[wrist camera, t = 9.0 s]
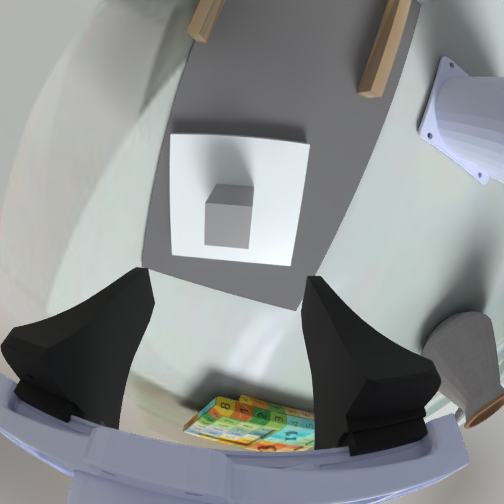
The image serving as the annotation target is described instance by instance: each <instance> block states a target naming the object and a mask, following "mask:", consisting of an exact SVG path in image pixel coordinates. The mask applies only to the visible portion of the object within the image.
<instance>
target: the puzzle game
mask: <svg viewBox="0 0 504 504" xmlns="http://www.w3.org/2000/svg"><path fill="white" fill-rule="evenodd" d="M183 431H184V432H186V433H189V434H192V435H196V436H199V437H202V438H206V439H209V440H213V441H216V442H220V443H224V444H228V445H232V446H236V447H241V448H245V449H250V450H255V451H260V452H291V451H304V450H307V449H309V448H311V447H313V446H314V441H315V425H314V413H312V412H307V411H302V410H298V409H294V408H289V407H285V406H281V405H277V404H274V403H270V402H266V401H263V400H259V399H256V398H252V397H249V396H246V395H241V396H239V397H238V398H237V399H236V400H232V399H229V398H226V397H223V396H219V397H215V398H214V399H213V400H212V401H211V402H210V403H209V404H208V405H207V406H206V407H205V408H203V409H202V410H201V411H200V412H199V413H198V414H197V415H196V416H194V417H193V418H192V419H191V420H190V421H189V422H188V423H186V424H185V425H184V429H183Z"/></svg>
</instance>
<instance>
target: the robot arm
mask: <svg viewBox="0 0 504 504" xmlns="http://www.w3.org/2000/svg"><path fill="white" fill-rule="evenodd" d="M450 64H451V67H450ZM418 133H419V136H420V137H421V138H423V139H424V140H426V141H427V142H429V143H430V144H432V145H433V146H434V147H436V148H437V149H439V150H440V151H441V152H443V153H444V154H445V155H447V156H448V157H450V158H451V159H452V160H453V161H455V162H456V163H457V164H459V165H460V166H461V167H462V168H464V169H465V170H466V171H467V172H469V173H470V174H471V175H472V176H473V177H474V178H476V179H477V180H478V181H479V182H480V183H481V184H483V185H486V184H487V182H488V180H489V178H490V177H491V178H493V179H495V180H497V181H499V182H501V183H503V184H504V77H470V76H469V75H468V74H467V73H466V72H465V71H464V70H463V69H461V68H460V67H459V66H458V65H457V64H456V63H454V62H453V61H452V60H451V59H450V58H448V57H447V56H443V57H441V60H440V64H439V67H438V71H437V75H436V78H435V81H434V85H433V88H432V91H431V94H430V98H429V101H428V104H427V107H426V110H425V113H424V115H423V118H422V121H421V124H420V127H419V130H418ZM428 133H430V137H429V138H428V136H427V135H428ZM478 174H479V176H478ZM154 305H155V301H154V296H153V292H152V287H151V282H150V277H149V271H148V268H139V267H136V268H134V269H132V270H131V271H129V272H128V273H126V274H125V275H123V276H122V277H120V278H119V279H117V280H116V281H115V282H113V283H112V284H110V285H109V286H107V287H106V288H104V289H103V290H101V291H100V292H98V293H97V294H95V295H94V296H92V297H91V298H89V299H87V300H86V301H84V302H82V303H80V304H78V305H77V306H75V307H73V308H71V309H69V310H66V311H64V312H62V313H60V314H57V315H55V316H53V317H50V318H47V319H44V320H41V321H38V322H35V323H32V324H27V325H23V326H19V327H14V328H13V329H12V330H11V332H10V333H9V334H8V336H7V337H6V339H5V340H4V341H3V343H2V344H1V352H2V354H3V356H4V358H5V360H6V361H7V363H8V364H9V365H10V367H11V368H12V369H13V371H14V372H15V373H16V375H17V376H18V377H19V379H20V381H19V383H18V384H17V383H15V382H14V381H13V380H12V379H10V378H8V377H6V376H5V375H3V374H1V373H0V432H1V433H3V434H4V435H5V436H6V437H7V438H8V439H10V440H11V441H13V442H14V443H15V444H17V445H18V446H20V447H21V448H23V449H25V450H26V451H27V452H29V453H31V454H32V455H34V456H36V457H37V458H39V459H40V460H42V461H44V462H45V463H47V464H49V465H51V466H52V467H54V468H56V469H58V470H60V471H61V472H63V473H65V474H67V475H69V476H71V477H73V480H72V484H71V487H70V491H69V494H68V498H67V502H66V504H379V503H382V502H386V501H389V500H392V499H395V498H398V497H401V496H404V495H407V494H410V493H412V492H415V491H418V490H420V489H423V488H425V487H428V486H430V485H433V484H435V483H437V482H439V481H440V480H442V479H444V478H446V477H448V476H449V475H451V474H453V473H454V472H456V471H458V470H459V469H461V468H463V467H464V466H465V465H467V464H469V462H470V459H469V456H468V453H467V450H466V447H465V444H464V441H463V438H462V435H461V432H460V430H459V427H458V424H457V422H456V419H455V416H454V414H452V413H451V414H448V415H446V416H443V417H440V418H436V419H434V420H431V421H429V422H427V423H426V424H425V422H424V419H423V417H425V416H426V411H425V408H424V407H425V405H426V404H427V403H428V402H429V401H430V400H431V399H432V397H433V396H434V395H435V394H436V392H437V391H438V390H439V388H440V385H441V377H440V375H439V373H438V371H437V369H436V367H435V365H434V363H433V361H432V360H430V359H428V358H425V357H423V356H420V355H418V354H416V353H413V352H411V351H409V350H407V349H405V348H403V347H402V346H400V345H398V344H396V343H394V342H393V341H391V340H390V339H388V338H387V337H385V336H383V335H382V334H380V333H379V332H378V331H376V330H375V329H374V328H372V327H371V326H370V325H368V324H367V323H366V322H365V321H363V320H362V319H361V318H360V317H359V316H358V315H357V314H356V313H355V312H354V311H352V310H351V309H350V308H349V307H348V306H347V305H346V304H345V303H344V302H343V301H342V299H341V298H340V297H339V296H338V295H337V294H336V293H335V292H334V291H333V290H332V288H331V287H330V286H329V285H328V284H327V283H326V282H325V280H324V279H323V278H322V277H321V276H307V280H306V286H305V292H304V298H303V303H302V309H301V317H302V329H303V335H304V340H305V344H306V349H307V354H308V359H309V363H310V368H311V374H312V383H313V397H314V425H315V441H314V450H309V451H291V452H249V451H231V450H219V449H209V448H201V447H197V446H192V445H185V444H179V443H173V442H167V441H162V440H157V439H153V438H148V437H144V436H140V435H136V434H132V433H128V432H124V431H121V430H119V419H120V412H121V406H122V400H123V395H124V391H125V386H126V382H127V378H128V374H129V370H130V367H131V364H132V361H133V358H134V356H135V353H136V351H137V349H138V346H139V344H140V342H141V340H142V337H143V335H144V333H145V331H146V328H147V326H148V324H149V321H150V318H151V315H152V312H153V308H154Z"/></svg>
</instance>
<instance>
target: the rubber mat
mask: <svg viewBox="0 0 504 504" xmlns="http://www.w3.org/2000/svg"><path fill="white" fill-rule="evenodd" d="M387 2H388V0H226V1H225V3H224V5H223V7H222V9H221V12H220V14H219V16H218V19H217V21H216V23H215V26H214V28H213V30H212V33H211V35H210V38H209V40H208V43H202V42H196V41H195V42H194V45H193V48H192V50H191V53H190V56H189V58H188V61H187V64H186V67H185V70H184V73H183V76H182V79H181V82H180V85H179V88H178V91H177V94H176V98H175V101H174V104H173V108H172V111H171V115H170V118H169V122H168V126H167V130H166V134H165V137H164V141H163V146H162V150H161V154H160V158H159V163H158V167H157V172H156V177H155V182H154V187H153V192H152V197H151V203H150V209H149V215H148V221H147V228H146V234H145V242H144V249H143V257H142V267H145V268H148V269H151V270H154V271H157V272H160V273H163V274H166V275H169V276H173V277H176V278H179V279H182V280H186V281H189V282H192V283H195V284H199V285H202V286H206V287H209V288H212V289H216V290H219V291H223V292H226V293H230V294H233V295H237V296H240V297H244V298H248V299H251V300H255V301H259V302H262V303H266V304H270V305H274V306H278V307H282V308H285V309H289V310H293V311H296V310H297V308H298V306H299V304H300V302H301V301H302V299H303V297H304V292H305V286H306V280H307V276H315V274H316V272H317V270H318V269H319V267H320V265H321V263H322V261H323V259H324V257H325V255H326V253H327V251H328V249H329V247H330V245H331V243H332V241H333V239H334V237H335V235H336V233H337V231H338V228H339V226H340V224H341V222H342V220H343V218H344V216H345V214H346V212H347V209H348V207H349V205H350V203H351V201H352V198H353V196H354V194H355V192H356V190H357V187H358V185H359V183H360V180H361V178H362V176H363V173H364V171H365V169H366V166H367V164H368V162H369V159H370V157H371V154H372V152H373V150H374V147H375V145H376V142H377V140H378V137H379V135H380V132H381V129H382V127H383V124H384V122H385V119H386V116H387V114H388V111H389V108H390V105H391V103H392V100H393V97H394V94H395V91H396V88H397V85H398V82H399V79H400V76H401V73H402V70H403V67H404V64H405V61H406V58H407V54H408V51H409V48H410V44H411V41H412V37H413V34H414V30H415V26H416V23H417V19H418V15H419V11H420V7H421V4H420V3H419V2H417V1H416V0H411V4H410V8H409V12H408V16H407V19H406V23H405V26H404V30H403V33H402V36H401V40H400V43H399V46H398V50H397V53H396V56H395V59H394V62H393V65H392V68H391V71H390V74H389V77H388V80H387V83H386V86H385V89H384V91H383V94H382V97H373V98H365V97H363V96H361V95H359V94H357V91H358V88H359V85H360V82H361V80H362V77H363V74H364V71H365V68H366V65H367V63H368V60H369V57H370V54H371V51H372V48H373V45H374V42H375V39H376V36H377V33H378V30H379V27H380V24H381V21H382V18H383V15H384V12H385V8H386V5H387ZM173 133H208V134H228V135H243V136H255V137H265V138H274V139H283V140H291V141H298V142H305V143H308V144H310V148H309V155H308V162H307V169H306V176H305V183H304V189H303V196H302V202H301V208H300V214H299V220H298V226H297V232H296V238H295V243H294V249H293V255H292V260H291V265H290V266H284V265H272V264H261V263H250V262H240V261H229V260H218V259H208V258H197V257H187V256H177V255H172V245H171V223H170V134H173Z"/></svg>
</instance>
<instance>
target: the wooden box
mask: <svg viewBox="0 0 504 504" xmlns="http://www.w3.org/2000/svg"><path fill="white" fill-rule="evenodd" d="M225 1H226V0H200V2H199V4H198V6H197V9H196V11H195V13H194V15H193V18H192V20H191V22H190V25H189V27H188V30H187V32H188V33H189V34H190V36H191V37H192V38H193V39H194V40H195V41H196V42H202V43H208V40H209V38H210V35H211V33H212V30H213V28H214V26H215V23H216V21H217V19H218V16H219V14H220V12H221V9H222V7H223V5H224V3H225ZM410 4H411V0H388V2H387V5H386V8H385V12H384V15H383V18H382V21H381V24H380V27H379V30H378V33H377V36H376V39H375V42H374V45H373V48H372V51H371V54H370V57H369V60H368V63H367V65H366V68H365V71H364V74H363V77H362V80H361V82H360V85H359V88H358V91H357V94H359V95H361V96H363V97H365V98H373V97H382V94H383V91H384V89H385V86H386V83H387V80H388V77H389V74H390V71H391V68H392V65H393V62H394V59H395V56H396V53H397V50H398V46H399V43H400V40H401V36H402V33H403V30H404V26H405V23H406V19H407V16H408V12H409V8H410Z"/></svg>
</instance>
